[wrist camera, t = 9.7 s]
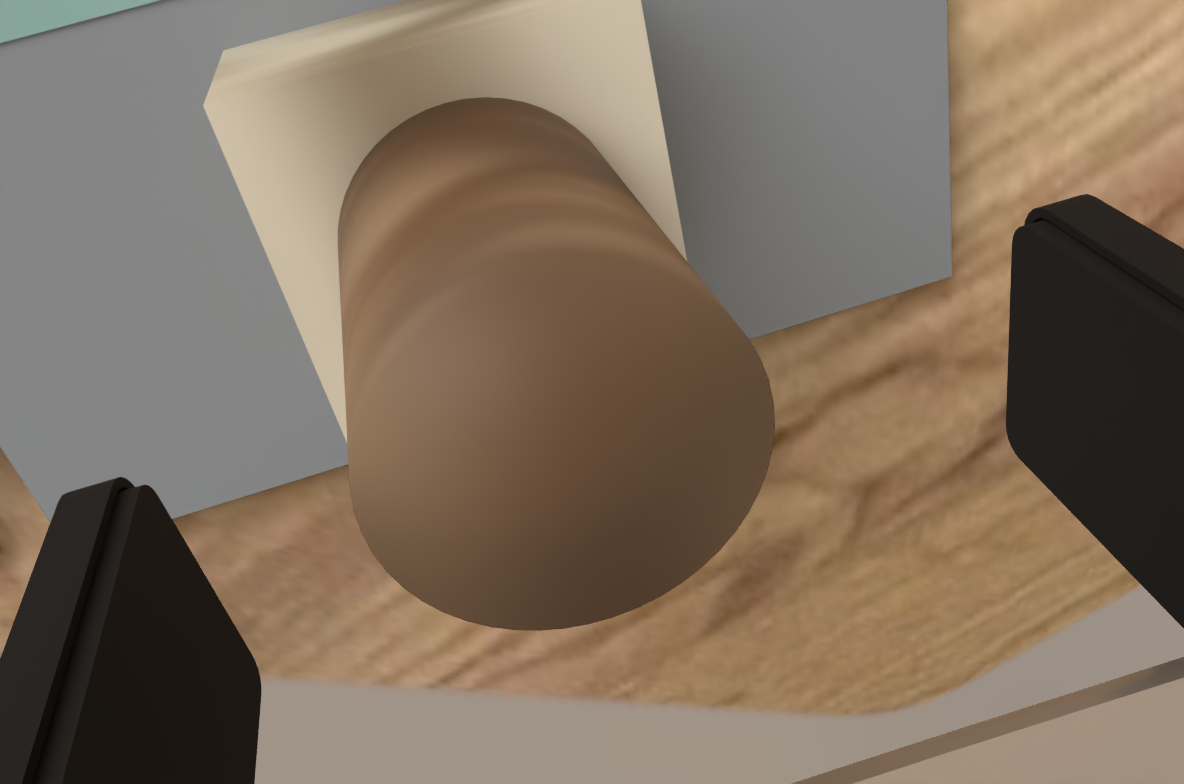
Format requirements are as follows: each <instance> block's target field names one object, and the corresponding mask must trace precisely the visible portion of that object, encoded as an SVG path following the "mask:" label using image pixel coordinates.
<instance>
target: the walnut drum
mask: <svg viewBox="0 0 1184 784" xmlns="http://www.w3.org/2000/svg"><path fill="white" fill-rule="evenodd" d="M338 262H339V283H340V303H341V323H342V343H343V364H344V384H345V404H346V424H347V445H348V465H349V485H350V492H351V498H352V504H353V510H354V513H355V516H356V519H357V522H358V524H359V527H360V530H361V533H362V535H363V537H364V539H365V540H366V542H367V544H368V546H369V548H370V550H371V551H372V553H373V555H374V556H375V557H376V558H377V560H378V561H379V562H380V564H381V565H382V566H383V568H384V569H385V570H386V571H387V572H388V573H389V574H390V575H391V576H392V577H393V578H394V579H395V580H396V581H397V582H398V583H399V584H400V585H401V586H402V587H403V588H405V589H406V590H407V591H409V592H410V593H412V594H413V595H414V596H416V597H417V598H418V599H420V600H421V601H423V602H425V603H427V604H428V605H430V606H432V607H434V608H436V609H438V610H440V611H442V612H444V613H446V614H449V615H452V616H454V617H457V618H460V619H462V620H465V621H468V622H472V623H477V624H481V625H485V626H489V627H496V628H503V629H511V630H551V629H564V628H570V627H575V626H581V625H586V624H591V623H594V622H598V621H602V620H605V619H609V618H612V617H615V616H618V615H620V614H623V613H626V612H628V611H631V610H633V609H636V608H638V607H640V606H642V605H644V604H646V603H648V602H650V601H652V600H654V599H656V598H658V597H660V596H662V595H663V594H665V593H667V592H668V591H670V590H671V589H673V588H675V587H676V586H678V585H679V584H681V583H682V582H684V581H685V580H686V579H687V578H689V577H690V576H691V575H693V574H694V573H695V572H697V571H698V570H699V569H700V568H702V567H703V566H704V565H705V564H706V563H707V562H708V561H709V560H710V559H711V558H712V557H713V556H714V555H715V554H716V553H717V552H719V550H720V549H721V548H722V547H723V546H724V545H725V543H726V542H727V541H728V540H729V539H730V538H731V536H732V535H733V534H734V533H735V532H736V530H737V529H738V527H739V526H740V524H741V523H742V521H743V520H744V518H745V517H746V515H747V514H748V512H749V510H750V509H751V507H752V505H753V503H754V501H755V499H756V497H757V495H758V493H759V491H760V489H761V486H762V483H763V481H764V478H765V475H766V473H767V470H768V466H769V461H770V457H771V453H772V448H773V439H774V427H775V421H774V404H773V398H772V393H771V389H770V384H769V379H768V377H767V374H766V372H765V369H764V367H763V364H762V362H761V359H760V357H759V355H758V354H757V352H756V350H755V349H754V347H753V345H752V344H751V342H750V340H749V338H748V337H747V336H746V335H745V333H744V332H743V331H742V330H741V328H740V327H739V326H738V325H737V323H736V322H735V321H734V320H733V318H732V317H731V316H730V315H729V313H728V312H727V311H726V310H725V308H724V307H723V306H722V305H721V303H720V302H719V301H718V300H717V298H716V297H715V296H714V295H713V293H712V292H711V291H710V290H709V288H708V287H707V286H706V285H705V283H704V282H703V281H702V280H701V278H700V277H699V276H698V275H697V273H696V272H695V271H694V270H693V268H692V267H691V266H690V265H689V263H688V262H687V261H686V260H685V258H684V257H683V256H682V255H681V253H680V252H679V251H678V250H677V248H676V247H675V246H674V244H673V243H672V242H671V241H670V239H669V238H668V237H667V236H666V234H665V233H664V232H663V231H662V229H661V228H660V227H659V226H658V224H657V223H656V222H655V221H654V219H653V218H652V217H651V216H650V214H649V213H648V212H647V211H646V209H645V208H644V207H643V206H642V204H641V203H640V202H639V201H638V199H637V198H636V197H635V196H634V194H633V193H632V192H631V191H630V189H629V188H628V187H627V186H626V184H625V183H624V182H623V181H622V179H621V178H620V177H619V176H618V174H617V173H616V172H615V171H614V169H613V168H612V167H611V166H610V164H609V163H608V162H607V161H606V159H605V158H604V157H603V156H602V154H601V153H600V152H599V151H598V150H597V148H596V147H595V146H594V145H593V144H592V142H591V141H590V140H589V139H588V138H587V137H586V136H585V135H583V134H582V133H581V132H580V131H579V130H578V129H577V128H576V127H574V126H573V125H571V124H570V123H568V122H567V121H565V120H564V119H563V118H561V117H559V116H557V115H555V114H553V113H551V112H549V111H547V110H545V109H543V108H540V107H538V106H535V105H532V104H529V103H526V102H521V101H516V100H511V99H506V98H490V97H481V98H468V99H461V100H457V101H452V102H447V103H443V104H441V105H438V106H435V107H432V108H429V109H426V110H424V111H422V112H420V113H418V114H416V115H415V116H413V117H411V118H409V119H407V120H405V121H404V122H403V123H401V124H400V125H398V126H397V127H395V128H394V129H393V130H391V131H390V132H389V133H388V134H387V135H386V136H384V137H383V138H382V139H381V140H380V141H379V142H378V143H377V144H376V145H375V146H374V147H373V148H372V150H371V151H370V152H369V153H368V155H367V156H366V157H365V158H364V159H363V161H362V163H361V164H360V166H359V167H358V169H357V171H356V172H355V174H354V175H353V177H352V180H351V182H350V184H349V186H348V189H347V191H346V193H345V196H344V200H343V204H342V207H341V211H340V217H339V224H338Z"/></svg>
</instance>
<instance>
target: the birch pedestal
mask: <svg viewBox="0 0 1184 784" xmlns="http://www.w3.org/2000/svg"><path fill="white" fill-rule="evenodd" d="M481 97H490V98H506V99H511V100H516V101H521V102H526V103H529V104H532V105H535V106H538V107H540V108H543V109H545V110H547V111H549V112H551V113H553V114H555V115H557V116H559V117H561V118H563V119H564V120H565V121H567V122H568V123H570V124H571V125H573V126H574V127H576V128H577V129H578V130H579V131H580V132H581V133H582V134H583V135H585V136H586V137H587V138H588V139H589V140H590V141H591V142H592V144H593V145H594V146H595V147H596V148H597V150H598V151H599V152H600V153H601V154H602V156H603V157H604V158H605V159H606V161H607V162H608V163H609V164H610V166H611V167H612V168H613V169H614V171H615V172H616V173H617V174H618V176H619V177H620V178H621V179H622V181H623V182H624V183H625V184H626V186H627V187H628V188H629V189H630V191H631V192H632V193H633V194H634V196H635V197H636V198H637V199H638V201H639V202H640V203H641V204H642V206H643V207H644V208H645V209H646V211H647V212H648V213H649V214H650V216H651V217H652V218H653V219H654V221H655V222H656V223H657V224H658V226H659V227H660V228H661V229H662V231H663V232H664V233H665V234H666V236H667V237H668V238H669V239H670V241H671V242H672V243H673V244H674V246H675V247H676V248H677V250H678V251H679V252H680V253H681V255H682V256H683V257H684V258H685V260H686V261H687V257H686V252H685V246H684V240H683V235H682V229H681V224H680V218H679V212H678V207H677V201H676V195H675V190H674V184H673V179H672V173H671V167H670V162H669V156H668V150H667V145H666V139H665V133H664V128H663V122H662V117H661V111H660V105H659V100H658V94H657V88H656V83H655V77H654V72H653V66H652V60H651V55H650V49H649V43H648V38H647V32H646V27H645V21H644V15H643V10H642V4H641V0H406V1H402V2H399V3H395V4H391V5H388V6H384V7H380V8H377V9H373V10H369V11H366V12H362V13H358V14H355V15H351V16H347V17H344V18H340V19H336V20H333V21H329V22H325V23H322V24H318V25H315V26H311V27H307V28H304V29H300V30H296V31H293V32H289V33H285V34H282V35H278V36H274V37H271V38H267V39H263V40H260V41H256V42H252V43H249V44H245V45H241V46H238V47H234V48H230V49H227V50H223V53H222V56H221V58H220V61H219V64H218V66H217V69H216V72H215V75H214V77H213V80H212V83H211V85H210V88H209V91H208V94H207V96H206V99H205V102H204V104H203V107H204V109H205V112H206V114H207V116H208V119H209V121H210V123H211V126H212V128H213V130H214V133H215V135H216V137H217V140H218V142H219V144H220V147H221V149H222V151H223V154H224V156H225V158H226V161H227V163H228V165H229V168H230V170H231V172H232V175H233V177H234V179H235V182H236V184H237V186H238V189H239V191H240V194H241V196H242V198H243V201H244V203H245V205H246V208H247V210H248V212H249V215H250V217H251V219H252V222H253V224H254V226H255V229H256V231H257V233H258V236H259V238H260V240H261V243H262V245H263V247H264V250H265V252H266V254H267V257H268V259H269V261H270V264H271V266H272V268H273V271H274V273H275V275H276V278H277V280H278V283H279V285H280V287H281V290H282V292H283V294H284V297H285V299H286V301H287V304H288V306H289V308H290V311H291V313H292V315H293V318H294V320H295V322H296V325H297V327H298V329H299V332H300V334H301V336H302V339H303V341H304V343H305V346H306V348H307V350H308V353H309V355H310V357H311V360H312V362H313V365H314V367H315V369H316V372H317V374H318V376H319V379H320V381H321V383H322V386H323V388H324V390H325V393H326V395H327V397H328V400H329V402H330V404H331V407H332V409H333V411H334V414H335V416H336V418H337V421H338V423H339V425H340V428H341V430H342V432H343V435H344V437H345V439H346V442H347V424H346V404H345V384H344V364H343V343H342V323H341V303H340V283H339V262H338V224H339V217H340V211H341V207H342V204H343V200H344V196H345V193H346V191H347V189H348V186H349V184H350V182H351V180H352V177H353V175H354V174H355V172H356V171H357V169H358V167H359V166H360V164H361V163H362V161H363V159H364V158H365V157H366V156H367V155H368V153H369V152H370V151H371V150H372V148H373V147H374V146H375V145H376V144H377V143H378V142H379V141H380V140H381V139H382V138H383V137H384V136H386V135H387V134H388V133H389V132H390V131H391V130H393V129H394V128H395V127H397V126H398V125H400V124H401V123H403V122H404V121H405V120H407V119H409V118H411V117H413V116H415V115H416V114H418V113H420V112H422V111H424V110H426V109H429V108H432V107H435V106H438V105H441V104H443V103H447V102H452V101H457V100H461V99H468V98H481Z"/></svg>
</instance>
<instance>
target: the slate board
mask: <svg viewBox="0 0 1184 784" xmlns="http://www.w3.org/2000/svg"><path fill="white" fill-rule="evenodd" d="M402 1H406V0H0V447H1V449H2V450H3V452H4V453H5V455H6V456H7V458H8V459H9V461H10V462H11V464H12V465H13V467H14V468H15V470H16V471H17V473H18V474H19V476H20V477H21V479H22V480H23V482H24V483H25V485H26V487H27V488H28V490H29V491H30V493H31V494H32V496H33V497H34V499H35V500H36V502H37V503H38V505H39V506H40V508H41V509H42V511H43V512H44V514H45V515H46V517H47V518H48V520H49V521H50V523H51V520H52V517H53V515H54V512H55V509H56V506H57V504H58V501H59V500H60V498H61V496H62V495H63V494H65V493H67V492H70V491H74V490H77V489H81V488H84V487H87V486H91V485H94V484H98V483H101V482H104V481H108V480H111V479H115V478H118V477H123V478H126V479H128V480H129V481H130V482H131V483H132V484H133V485H134V486H135V487H138V486H141V485H149V486H150V487H151V488H152V489H154V491H155V492H156V494H157V495H158V496H159V498H160V500H161V502H162V503H163V505H164V507H165V508H166V510H167V512H168V513H169V515H170V517H171V519H174V518H177V517H180V516H183V515H187V514H190V513H193V512H196V511H199V510H203V509H206V508H209V507H212V506H216V505H219V504H222V503H225V502H228V501H232V500H235V499H238V498H241V497H244V496H248V495H251V494H254V493H257V492H261V491H264V490H267V489H270V488H273V487H277V486H280V485H283V484H286V483H289V482H293V481H296V480H299V479H302V478H306V477H309V476H312V475H315V474H318V473H322V472H325V471H328V470H331V469H334V468H338V467H341V466H344V465H347V464H348V445H347V442H346V439H345V437H344V435H343V432H342V430H341V428H340V425H339V423H338V421H337V418H336V416H335V414H334V411H333V409H332V407H331V404H330V402H329V400H328V397H327V395H326V393H325V390H324V388H323V386H322V383H321V381H320V379H319V376H318V374H317V372H316V369H315V367H314V365H313V362H312V360H311V357H310V355H309V353H308V350H307V348H306V346H305V343H304V341H303V339H302V336H301V334H300V332H299V329H298V327H297V325H296V322H295V320H294V318H293V315H292V313H291V311H290V308H289V306H288V304H287V301H286V299H285V297H284V294H283V292H282V290H281V287H280V285H279V283H278V280H277V278H276V275H275V273H274V271H273V268H272V266H271V264H270V261H269V259H268V257H267V254H266V252H265V250H264V247H263V245H262V243H261V240H260V238H259V236H258V233H257V231H256V229H255V226H254V224H253V222H252V219H251V217H250V215H249V212H248V210H247V208H246V205H245V203H244V201H243V198H242V196H241V194H240V191H239V189H238V186H237V184H236V182H235V179H234V177H233V175H232V172H231V170H230V168H229V165H228V163H227V161H226V158H225V156H224V154H223V151H222V149H221V147H220V144H219V142H218V140H217V137H216V135H215V133H214V130H213V128H212V126H211V123H210V121H209V119H208V116H207V114H206V112H205V109H204V107H203V104H204V102H205V99H206V96H207V94H208V91H209V88H210V85H211V83H212V80H213V77H214V75H215V72H216V69H217V66H218V64H219V61H220V58H221V56H222V53H223V50H227V49H230V48H234V47H238V46H241V45H245V44H249V43H252V42H256V41H260V40H263V39H267V38H271V37H274V36H278V35H282V34H285V33H289V32H293V31H296V30H300V29H304V28H307V27H311V26H315V25H318V24H322V23H325V22H329V21H333V20H336V19H340V18H344V17H347V16H351V15H355V14H358V13H362V12H366V11H369V10H373V9H377V8H380V7H384V6H388V5H391V4H395V3H399V2H402ZM641 4H642V10H643V15H644V21H645V27H646V32H647V38H648V43H649V49H650V55H651V60H652V66H653V72H654V77H655V83H656V88H657V94H658V100H659V105H660V111H661V117H662V122H663V128H664V133H665V139H666V145H667V150H668V156H669V162H670V167H671V173H672V179H673V184H674V190H675V195H676V201H677V207H678V212H679V218H680V224H681V229H682V235H683V240H684V246H685V252H686V257H687V262H688V263H689V265H690V266H691V267H692V268H693V270H694V271H695V272H696V273H697V275H698V276H699V277H700V278H701V280H702V281H703V282H704V283H705V285H706V286H707V287H708V288H709V290H710V291H711V292H712V293H713V295H714V296H715V297H716V298H717V300H718V301H719V302H720V303H721V305H722V306H723V307H724V308H725V310H726V311H727V312H728V313H729V315H730V316H731V317H732V318H733V320H734V321H735V322H736V323H737V325H738V326H739V327H740V328H741V330H742V331H743V332H744V333H745V335H746V336H747V337H748V338H749V339H753V338H756V337H759V336H762V335H765V334H769V333H772V332H775V331H778V330H781V329H785V328H788V327H791V326H794V325H798V324H801V323H804V322H807V321H810V320H814V319H817V318H820V317H823V316H826V315H830V314H833V313H836V312H839V311H843V310H846V309H849V308H852V307H855V306H859V305H862V304H865V303H868V302H871V301H875V300H878V299H881V298H884V297H888V296H891V295H894V294H897V293H900V292H904V291H907V290H910V289H913V288H917V287H920V286H923V285H926V284H929V283H933V282H936V281H939V280H942V279H945V278H949V277H952V240H951V189H950V137H949V85H948V33H947V0H641Z"/></svg>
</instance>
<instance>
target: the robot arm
mask: <svg viewBox="0 0 1184 784" xmlns="http://www.w3.org/2000/svg"><path fill="white" fill-rule="evenodd" d="M1006 431H1007V435H1008V439H1009V442H1010V444H1011V447H1012V448H1013V450H1014V452H1015V454H1016V455H1017V456H1018V457H1019V459H1020V460H1021V461H1022V462H1023V463H1024V464H1025V465H1026V466H1027V467H1028V468H1029V469H1030V470H1031V471H1032V472H1033V473H1034V474H1035V475H1036V476H1037V477H1038V478H1039V479H1040V480H1041V482H1042V483H1043V484H1044V485H1045V486H1046V487H1047V488H1048V489H1049V490H1050V491H1051V492H1052V493H1053V494H1054V495H1055V496H1056V497H1057V498H1058V499H1059V500H1060V501H1061V502H1062V503H1063V504H1064V505H1065V506H1066V507H1067V508H1068V509H1069V510H1070V511H1071V513H1072V514H1073V515H1074V516H1075V517H1076V518H1077V519H1078V520H1079V521H1080V522H1081V523H1082V524H1083V525H1084V526H1085V527H1086V528H1087V529H1088V530H1089V531H1090V532H1091V533H1092V534H1093V535H1094V536H1095V537H1096V538H1097V539H1098V540H1099V541H1100V542H1101V544H1102V545H1103V546H1104V547H1105V548H1106V549H1107V550H1108V551H1109V552H1110V553H1111V554H1112V555H1113V556H1114V557H1115V558H1116V559H1117V560H1118V561H1119V562H1120V563H1121V564H1122V565H1123V566H1124V567H1125V568H1126V569H1127V570H1128V571H1129V572H1130V574H1131V575H1132V576H1133V577H1134V578H1135V579H1136V580H1137V581H1138V582H1139V583H1140V584H1141V585H1142V586H1143V587H1144V588H1145V589H1146V590H1147V591H1148V592H1149V593H1150V594H1151V595H1152V596H1153V597H1154V598H1155V599H1156V600H1157V601H1158V602H1159V603H1160V604H1161V606H1163V608H1164V609H1165V610H1167V612H1168V613H1169V614H1170V615H1171V616H1172V617H1173V618H1174V619H1175V620H1176V621H1177V622H1178V623H1179V624H1180V625H1181V626H1182V627H1183V628H1184V249H1183V248H1181V247H1180V246H1178V245H1176V244H1175V243H1173V242H1171V241H1170V240H1168V239H1166V238H1164V237H1163V236H1161V235H1159V234H1158V233H1156V232H1154V231H1152V230H1151V229H1149V228H1147V227H1146V226H1144V225H1142V224H1141V223H1139V222H1137V221H1135V220H1134V219H1132V218H1130V217H1129V216H1127V215H1125V214H1123V213H1122V212H1120V211H1118V210H1117V209H1115V208H1113V207H1112V206H1110V205H1108V204H1106V203H1105V202H1103V201H1101V200H1100V199H1098V198H1096V197H1094V196H1091V195H1088V194H1085V195H1080V196H1076V197H1073V198H1069V199H1066V200H1063V201H1059V202H1056V203H1052V204H1049V205H1045V206H1042V207H1039V208H1035V209H1033V210H1032V211H1031V212H1030V213H1029V214H1028V216H1027V218H1026V220H1025V225H1024V226H1022V227H1019V228H1018V229H1017V230H1016V231H1015V233H1014V235H1013V241H1012V262H1011V292H1010V322H1009V351H1008V381H1007V410H1006ZM260 703H261V681H260V675H259V671H258V668H257V665H256V662H255V660H254V658H253V656H252V654H251V652H250V651H249V649H248V647H247V646H246V644H245V642H244V640H243V639H242V637H241V635H240V634H239V632H238V630H237V629H236V627H235V625H234V624H233V622H232V620H231V618H230V617H229V615H228V613H227V612H226V610H225V608H224V607H223V605H222V603H221V602H220V600H219V598H218V596H217V595H216V593H215V591H214V590H213V588H212V586H211V585H210V583H209V581H208V579H207V578H206V576H205V574H204V573H203V571H202V569H201V568H200V566H199V564H198V563H197V561H196V559H195V557H194V556H193V554H192V552H191V551H190V549H189V547H188V546H187V544H186V542H185V541H184V539H183V537H182V535H181V534H180V532H179V530H178V529H177V527H176V525H175V524H174V522H173V520H172V519H171V517H170V515H169V513H168V512H167V510H166V508H165V507H164V505H163V503H162V502H161V500H160V498H159V496H158V495H157V494H156V492H155V491H154V489H152V488H151V487H150V486H149V485H141V486H138V487H135V486H134V485H133V484H132V483H131V482H130V481H129V480H128V479H126V478H123V477H118V478H115V479H111V480H108V481H104V482H101V483H98V484H94V485H91V486H87V487H84V488H81V489H77V490H74V491H70V492H67V493H65V494H63V495H62V496H61V498H60V500H59V501H58V504H57V506H56V509H55V512H54V515H53V517H52V520H51V523H50V525H49V528H48V531H47V534H46V536H45V539H44V542H43V544H42V547H41V550H40V553H39V555H38V558H37V561H36V563H35V566H34V569H33V572H32V574H31V577H30V580H29V582H28V585H27V588H26V591H25V593H24V596H23V599H22V601H21V604H20V607H19V610H18V612H17V615H16V618H15V620H14V623H13V626H12V629H11V631H10V634H9V637H8V639H7V642H6V645H5V648H4V650H3V653H2V656H1V658H0V784H254V780H255V766H256V755H257V741H258V729H259V716H260ZM792 784H1184V657H1182V658H1179V659H1176V660H1173V661H1170V662H1167V663H1164V664H1160V665H1157V666H1154V667H1151V668H1148V669H1145V670H1142V671H1139V672H1135V673H1133V674H1129V675H1126V676H1123V677H1120V678H1117V679H1114V680H1111V681H1107V682H1104V683H1101V684H1098V685H1095V686H1092V687H1089V688H1085V689H1082V690H1079V691H1076V692H1073V693H1070V694H1067V695H1064V696H1060V697H1057V698H1054V699H1051V700H1048V701H1045V702H1042V703H1039V704H1036V705H1032V706H1029V707H1027V708H1023V709H1020V710H1017V711H1014V712H1011V713H1007V714H1005V715H1001V716H998V717H995V718H992V719H989V720H986V721H983V722H980V723H976V724H973V725H970V726H967V727H964V728H961V729H958V730H955V731H952V732H949V733H946V734H942V735H940V736H936V737H933V738H930V739H927V740H924V741H921V742H918V743H915V744H912V745H909V746H906V747H903V748H899V749H896V750H894V751H890V752H887V753H884V754H881V755H878V756H875V757H872V758H869V759H866V760H863V761H860V762H857V763H853V764H850V765H847V766H844V767H841V768H838V769H835V770H832V771H829V772H826V773H823V774H820V775H817V776H814V777H810V778H808V779H804V780H801V781H798V782H795V783H792Z"/></svg>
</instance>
